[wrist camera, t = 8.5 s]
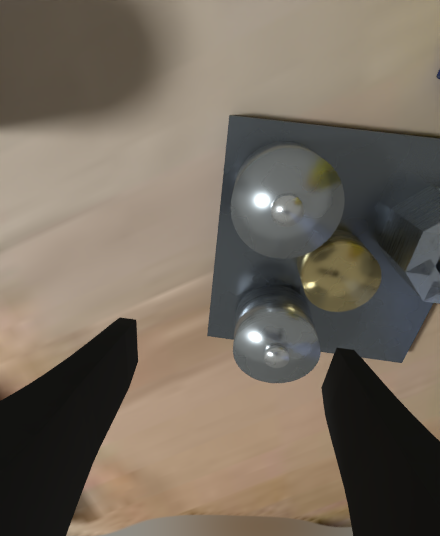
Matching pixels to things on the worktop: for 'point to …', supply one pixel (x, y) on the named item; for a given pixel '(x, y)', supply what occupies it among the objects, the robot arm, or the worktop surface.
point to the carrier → (313, 244)
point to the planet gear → (416, 242)
